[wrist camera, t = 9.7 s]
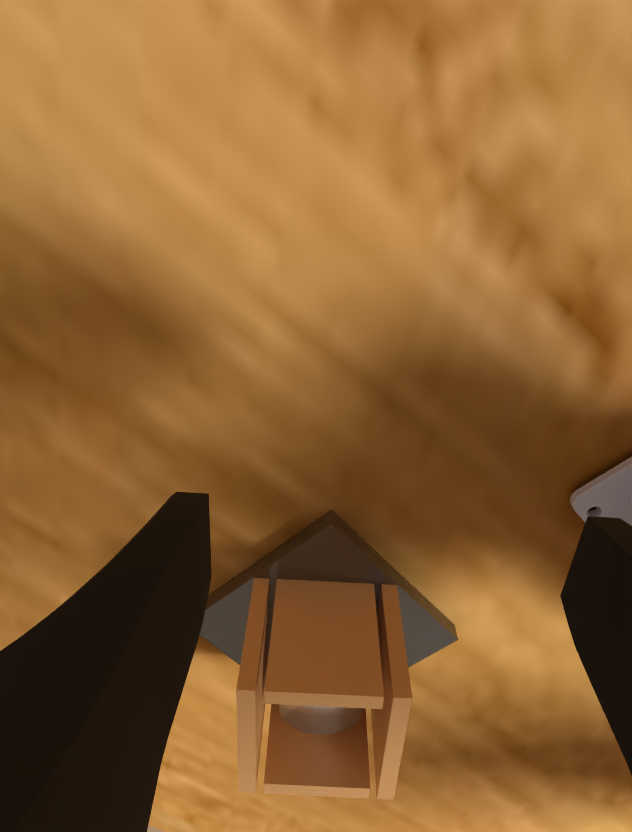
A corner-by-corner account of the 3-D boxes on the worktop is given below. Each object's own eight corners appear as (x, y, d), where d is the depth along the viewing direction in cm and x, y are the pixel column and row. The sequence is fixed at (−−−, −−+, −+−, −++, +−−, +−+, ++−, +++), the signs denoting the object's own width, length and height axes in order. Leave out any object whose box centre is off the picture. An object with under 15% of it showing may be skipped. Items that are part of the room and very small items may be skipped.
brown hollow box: (382, 680, 26) (393, 799, 22) (254, 674, 26) (239, 792, 22) (396, 585, 23) (412, 698, 19) (253, 578, 23) (236, 689, 19)
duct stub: (454, 624, 26) (475, 717, 22) (314, 703, 28) (312, 798, 24) (331, 510, 23) (331, 593, 19) (189, 609, 25) (164, 699, 22)
